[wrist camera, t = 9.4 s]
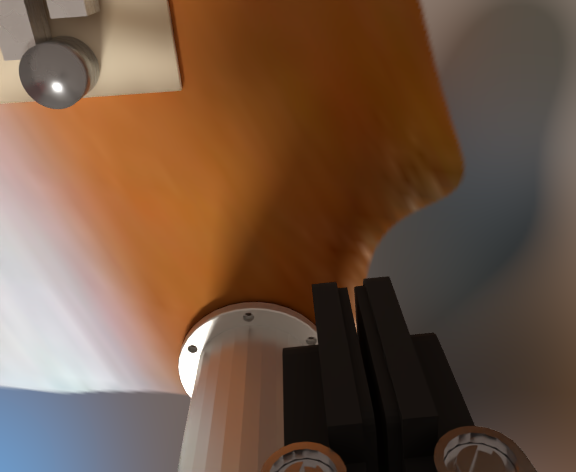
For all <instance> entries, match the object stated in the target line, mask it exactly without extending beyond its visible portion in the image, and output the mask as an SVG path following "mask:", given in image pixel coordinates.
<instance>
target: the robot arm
mask: <svg viewBox="0 0 576 472" xmlns="http://www.w3.org/2000/svg"><path fill="white" fill-rule="evenodd" d="M312 292H313V302H314V311H315V320H316V326H315V325H314V324H313V323H312V322H311V321H310V320H308V319H307V318H306V317H304V316H303V315H302V314H300V313H298V312H295V311H293V310H291V309H289V308H286V307H283V306H280V305H276V304H271V303H263V302H244V303H238V304H233V305H228V306H226V307H223V308H220V309H217V310H215V311H213V312H212V313H210V314H208V315H206V316H205V317H203V318H202V319H201V320H200V321H199V322H197V323H196V324H195V325H194V326H193V327H192V329H191V330H190V331H189V333H188V334H187V335H186V337H185V340H184V342H183V344H182V347H181V352H180V356H179V366H178V370H179V375H180V380H181V382H182V384H183V386H184V389H185V391H186V392H187V393H188V395H189V396H190V397H191V401H190V407H189V412H188V417H187V423H186V428H185V433H184V438H183V444H182V449H181V454H180V460H179V465H178V470H177V472H537V471H536V469H535V468H534V466H533V465H532V463H531V462H530V460H529V459H528V458H527V456H526V455H525V453H524V452H523V451H522V450H521V448H520V447H519V446H518V445H517V444H516V443H515V442H514V441H513V440H511V439H510V438H508V437H507V436H505V435H504V434H502V433H500V432H498V431H495V430H492V429H490V428H486V427H479V426H475V425H474V423H473V421H472V418H471V416H470V413H469V411H468V409H467V406H466V404H465V401H464V399H463V397H462V394H461V392H460V390H459V387H458V385H457V383H456V380H455V378H454V375H453V373H452V371H451V368H450V366H449V364H448V361H447V359H446V356H445V354H444V352H443V349H442V347H441V345H440V342H439V340H438V338H437V336H436V334H434V333H425V334H415V335H410V334H409V331H408V329H407V325H406V323H405V320H404V317H403V314H402V311H401V308H400V305H399V303H398V300H397V297H396V294H395V291H394V289H393V286H392V283H391V280H390V278H389V277H378V278H368V279H363V286H356V287H354V292H355V308H356V323H357V332H356V327H355V323H354V318H353V313H352V309H351V304H350V299H349V295H348V290H347V287H346V288H337V283H336V282H330V283H321V284H312Z"/></svg>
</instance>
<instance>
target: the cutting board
mask: <svg viewBox="0 0 576 472" xmlns="http://www.w3.org/2000/svg"><path fill="white" fill-rule="evenodd" d="M42 1H43V5H44V9H45V12H46V16H47V20H48V24H49V28H50V32H51V35H52V38H54V37H57V36H71V37H74V38H77V39H79V40H81V41H82V42H84V43H85V44H86V45H87V46H89V48H90V49H91V50H92V51H93V53H94V54H95V56H96V58H97V60H98V64H99V79H98V82H97V84H96V85H95V87H94V88H93V89H92V90H91V91H90V92H89V93H87V94H86V95H85V96H84V97H82V98H86V97H99V96H113V95H127V94H140V93H154V92H168V91H181V90H182V84H181V77H180V71H179V65H178V59H177V52H176V46H175V40H174V33H173V27H172V21H171V15H170V8H169V2H168V0H98V3H99V7H100V11H99V12H96V13H94V14H91V15H89V16H81V17H68V18H55V19H51V17H50V13H49V10H48V6H47V2H46V0H42ZM19 64H20V60H9V61H4V58H3V54H2V51H1V48H0V104H4V103H17V102H31V101H35V100H33V99H32V98H31V97H30V96H29V95H28V93H27V92H26V91H25V89H24V88H23V86H22V83H21V81H20V77H19Z"/></svg>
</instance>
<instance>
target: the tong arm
mask: <svg viewBox="0 0 576 472" xmlns="http://www.w3.org/2000/svg"><path fill="white" fill-rule="evenodd" d="M0 48H1V51H2V54H3V58H4V61H9V60H20V64H19V77H20V81H21V83H22V86H23V88H24V89H25V91H26V92H27V93H28V95H29V96H30V97H31V98H32V99H33V100H35V101H36V102H37V103H39V104H41V105H43V106H45V107H48V108H52V109H64V108H67V107H70V106H72V105H73V104H75V103H76V102H77V101H79V100H80V99H81V98H82V97H84V96H85V95H86V94H87V93H89V92H90V91H91V90H92V89H93V88H94V87H95V85H96V84H97V82H98V79H99V64H98V60H97V58H96V56H95V54H94V53H93V51H92V50H91V49H90V48H89V46H87V45H86V44H85V43H84V42H82V41H81V40H79V39H77V38H74V37H71V36H57V37H54V38H52V35H51V32H50V28H49V24H48V20H47V16H46V12H45V9H44V5H43V1H42V0H0Z"/></svg>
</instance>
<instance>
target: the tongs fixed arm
mask: <svg viewBox="0 0 576 472" xmlns="http://www.w3.org/2000/svg"><path fill="white" fill-rule="evenodd" d="M46 2H47V6H48V10H49V13H50V17H51V19H55V18H68V17H81V16H89V15H91V14H94V13H96V12H99V11H100V7H99V3H98V0H46Z"/></svg>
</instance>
